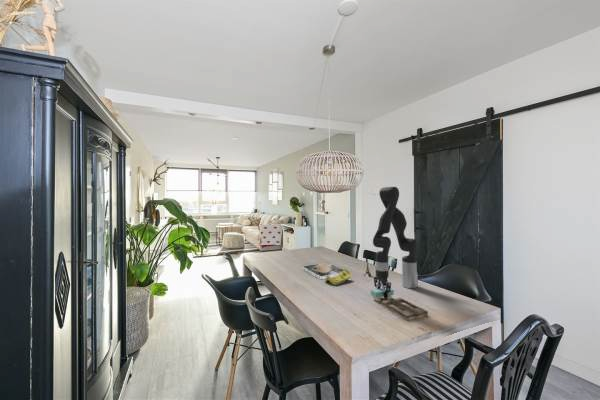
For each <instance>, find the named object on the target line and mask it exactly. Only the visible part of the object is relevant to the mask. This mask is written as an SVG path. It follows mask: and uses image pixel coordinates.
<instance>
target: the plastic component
mask: <svg viewBox="0 0 600 400" xmlns="http://www.w3.org/2000/svg"><path fill="white" fill-rule="evenodd" d="M351 277H352V273H351V272H350V271H349V270H348V269H347V268H344V269H343V270H342V271H340V272H339V274H335V275H333V276H330V275H326V277H325V278H324V279H325V280H324V282H326V283H327V282H330V284H332V285H334V286H337V285H340V284H344V283H345V282H346V281H347V280H349V279H350V278H351Z"/></svg>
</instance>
